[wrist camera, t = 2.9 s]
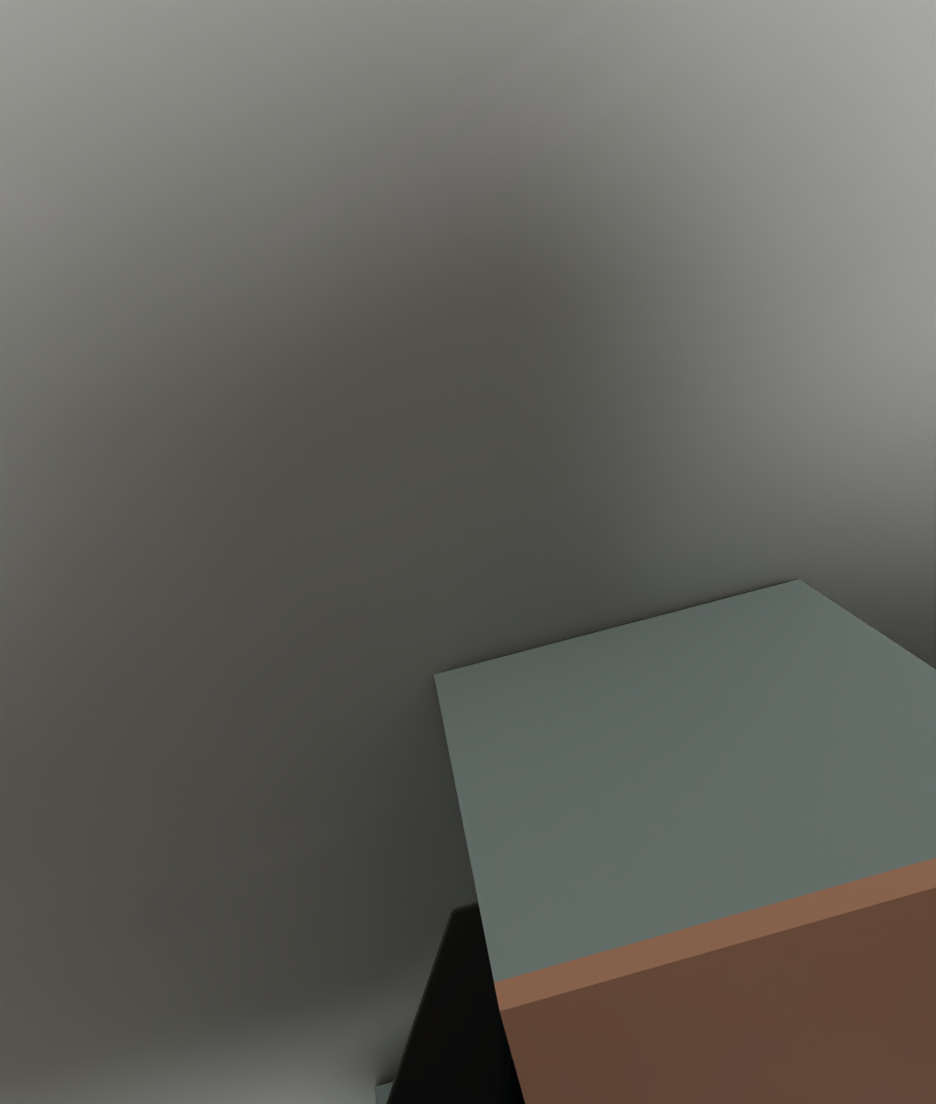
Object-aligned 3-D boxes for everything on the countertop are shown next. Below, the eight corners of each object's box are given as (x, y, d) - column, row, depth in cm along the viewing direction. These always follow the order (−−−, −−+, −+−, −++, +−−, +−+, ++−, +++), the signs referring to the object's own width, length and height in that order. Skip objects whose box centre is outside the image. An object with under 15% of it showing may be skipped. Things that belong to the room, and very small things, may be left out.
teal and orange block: (798, 579, 9) (1167, 821, 5) (834, 940, 10) (1128, 1346, 6) (434, 674, 9) (498, 1011, 5) (527, 1027, 10) (635, 1500, 6)
